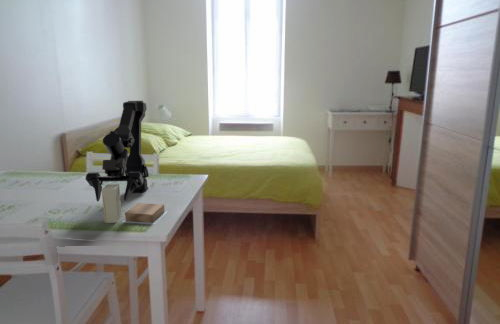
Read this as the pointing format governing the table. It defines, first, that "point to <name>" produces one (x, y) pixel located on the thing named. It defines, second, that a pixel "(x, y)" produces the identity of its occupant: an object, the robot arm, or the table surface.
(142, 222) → the plan sheet
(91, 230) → the table surface
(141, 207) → the walnut plinth
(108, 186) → the skincare box
